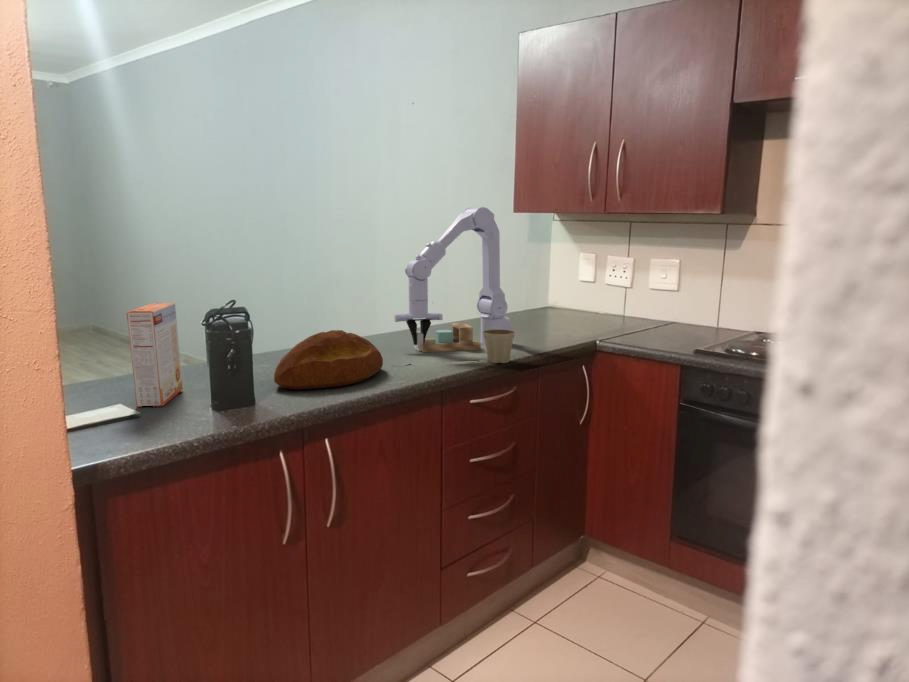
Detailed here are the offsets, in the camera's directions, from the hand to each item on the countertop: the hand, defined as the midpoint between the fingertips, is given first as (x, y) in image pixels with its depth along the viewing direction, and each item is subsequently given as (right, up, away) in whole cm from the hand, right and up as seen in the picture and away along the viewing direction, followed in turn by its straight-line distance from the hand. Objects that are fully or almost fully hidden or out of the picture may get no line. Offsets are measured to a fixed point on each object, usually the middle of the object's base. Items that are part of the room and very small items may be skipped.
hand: (418, 344), depth 201 cm
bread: (-20, -9, -35) cm, 41 cm away
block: (+8, 0, +2) cm, 8 cm away
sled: (+5, -1, +2) cm, 5 cm away
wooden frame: (+9, -2, +3) cm, 9 cm away
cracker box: (-55, -12, -54) cm, 78 cm away
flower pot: (+23, -5, -14) cm, 28 cm away
